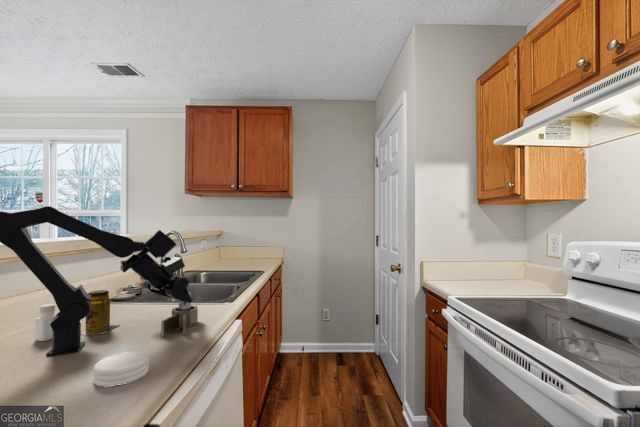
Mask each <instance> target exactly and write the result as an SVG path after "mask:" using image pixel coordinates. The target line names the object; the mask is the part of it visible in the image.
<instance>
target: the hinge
mask: <svg viewBox="0 0 640 427" xmlns="http://www.w3.org/2000/svg"><path fill="white" fill-rule="evenodd" d="M198 310H199V308H198V305H191V310H188V311H179V306H177V307H174V308H172V309H171V316H169V317H167V318H165V319H163V320H161V322H160V324H161V325H160V330H161V331H160V332H161V333H160V337H161V338H165V337H166V336H168V335H170V334H172V333H173V332H175V331H177V330H178V329H182V336H183V337H184V336H185V337H186V336H187V328H192V327H194V326H197V325H198V323H199V322H198V317H199V316H198V312H199V311H198Z"/></svg>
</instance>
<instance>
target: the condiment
mask: <svg viewBox="0 0 640 427" xmlns="http://www.w3.org/2000/svg"><path fill="white" fill-rule="evenodd" d="M87 293H88V294H90V295H91V298H90V300H91V307H90V311H89V313H88V315H87V316H86V317H85V330H84V331H83V332H81V336H82V335H84V336H85V335H89V336H90V335H105V333H108V332H110V331H112V330H113V329H114V328H115V329H116V328H117V327H119V326H120V325H121V323H120V324H111V299H110V296H109V293H110V292H109V291H108V290H107V289H101V290H94V291H93V290H92V291H89V292H87Z"/></svg>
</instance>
